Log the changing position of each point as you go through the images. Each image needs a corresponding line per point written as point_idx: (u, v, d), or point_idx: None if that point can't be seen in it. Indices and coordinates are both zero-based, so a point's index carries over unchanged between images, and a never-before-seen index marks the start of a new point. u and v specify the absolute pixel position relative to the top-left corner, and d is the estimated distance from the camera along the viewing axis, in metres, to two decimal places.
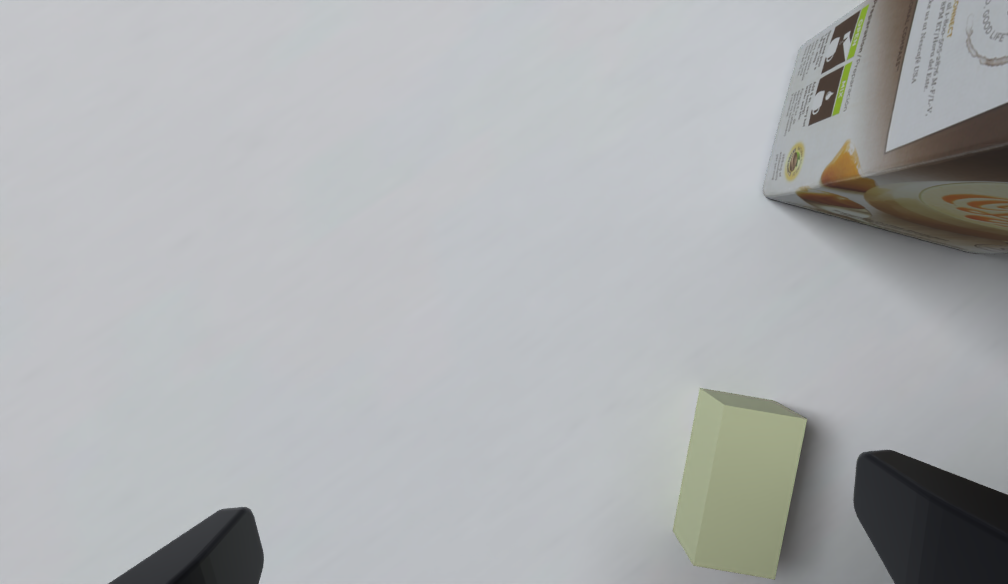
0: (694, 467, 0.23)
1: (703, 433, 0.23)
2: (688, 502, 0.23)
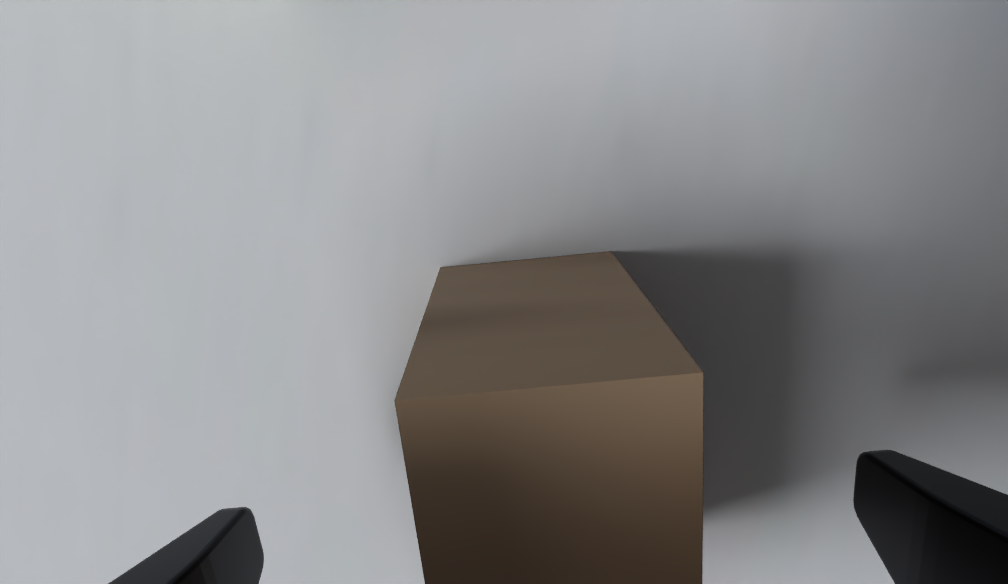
0: None
1: None
2: None
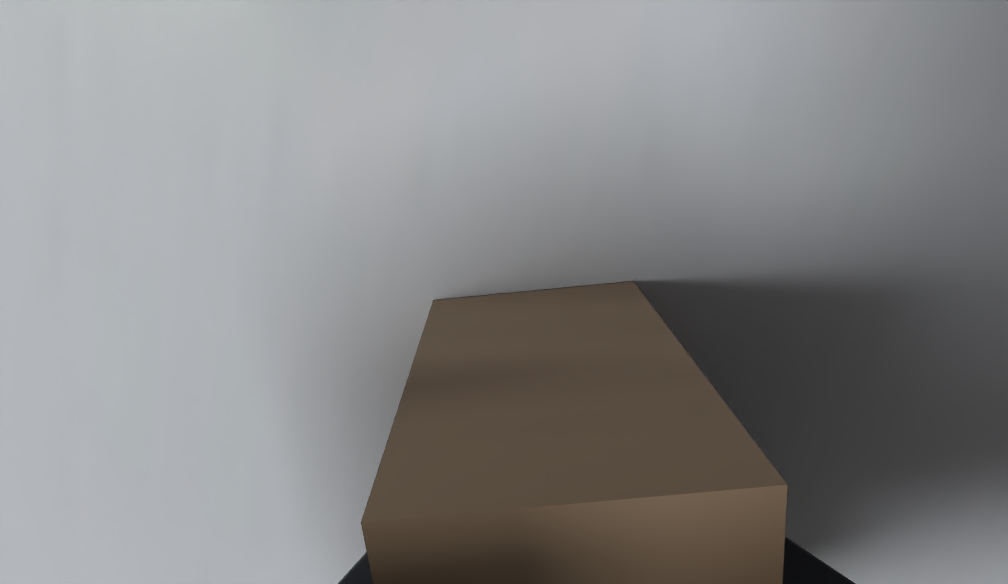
0: None
1: None
2: None
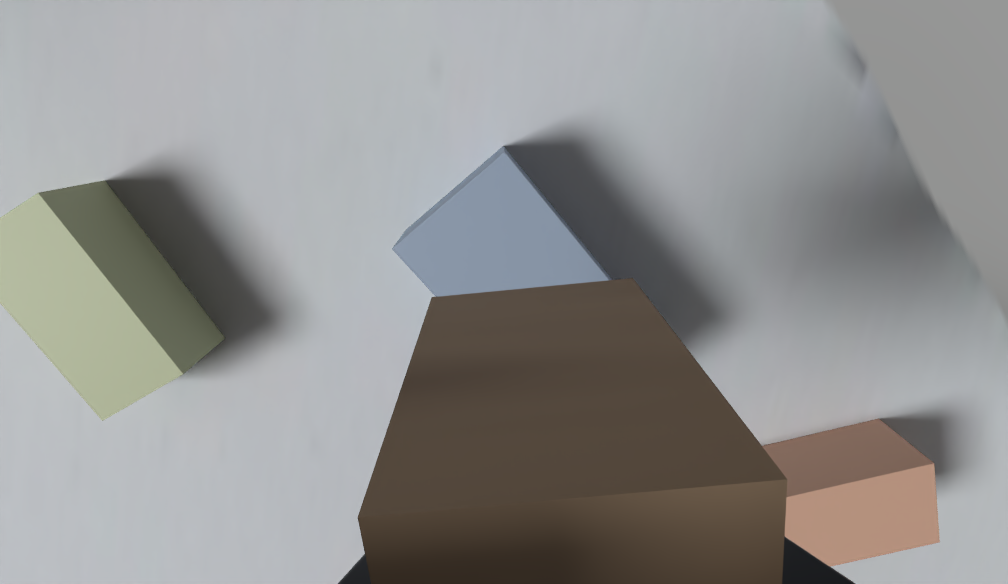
0: None
1: None
2: None
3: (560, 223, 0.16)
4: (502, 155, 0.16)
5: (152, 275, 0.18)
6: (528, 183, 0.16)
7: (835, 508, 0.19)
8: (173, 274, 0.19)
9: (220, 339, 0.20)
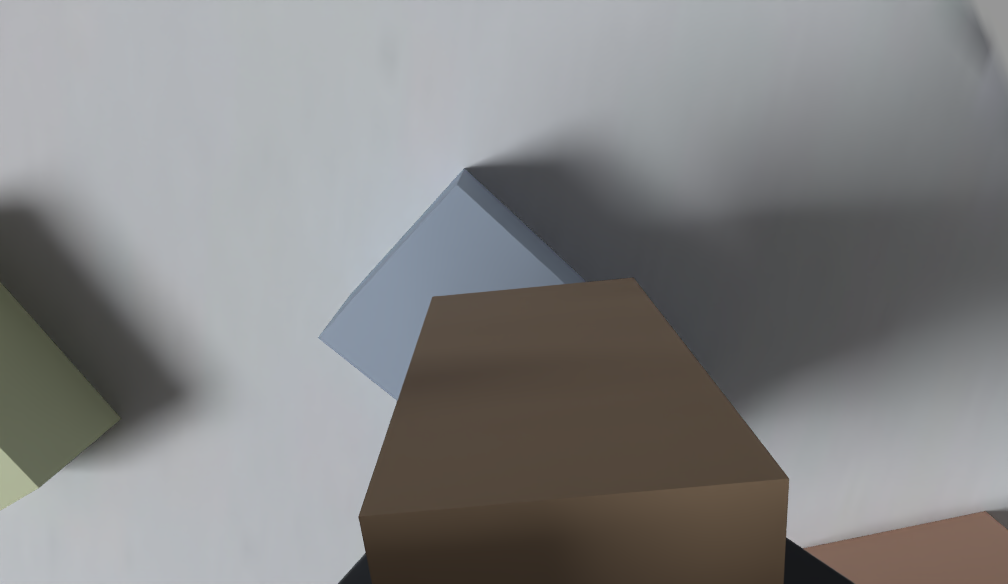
0: None
1: None
2: None
3: (551, 274, 0.11)
4: (454, 189, 0.11)
5: (5, 344, 0.13)
6: (497, 224, 0.11)
7: None
8: (42, 338, 0.14)
9: (112, 422, 0.15)
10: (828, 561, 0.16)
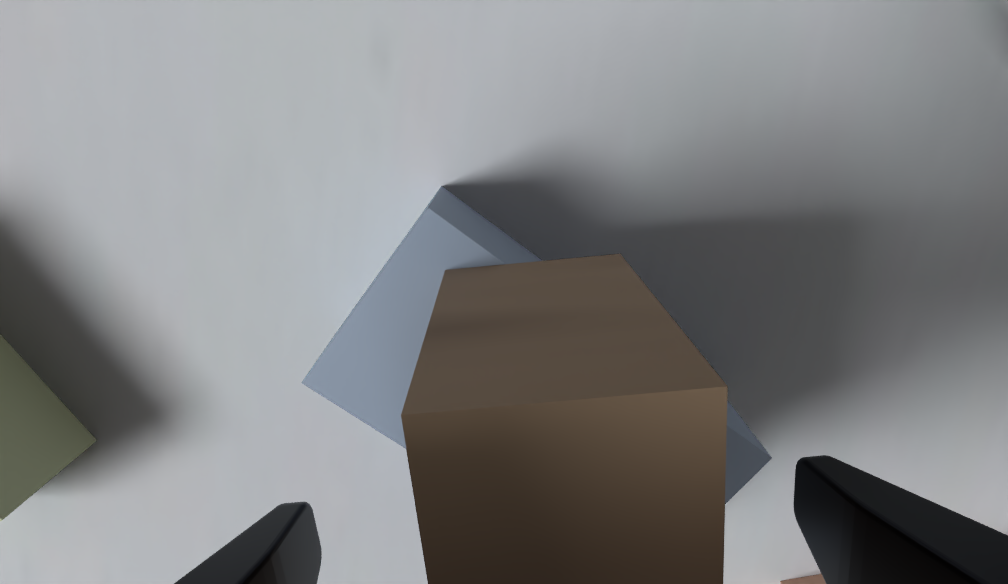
0: None
1: None
2: None
3: None
4: (426, 213, 0.10)
5: None
6: (476, 245, 0.10)
7: None
8: (11, 356, 0.13)
9: (86, 444, 0.14)
10: None
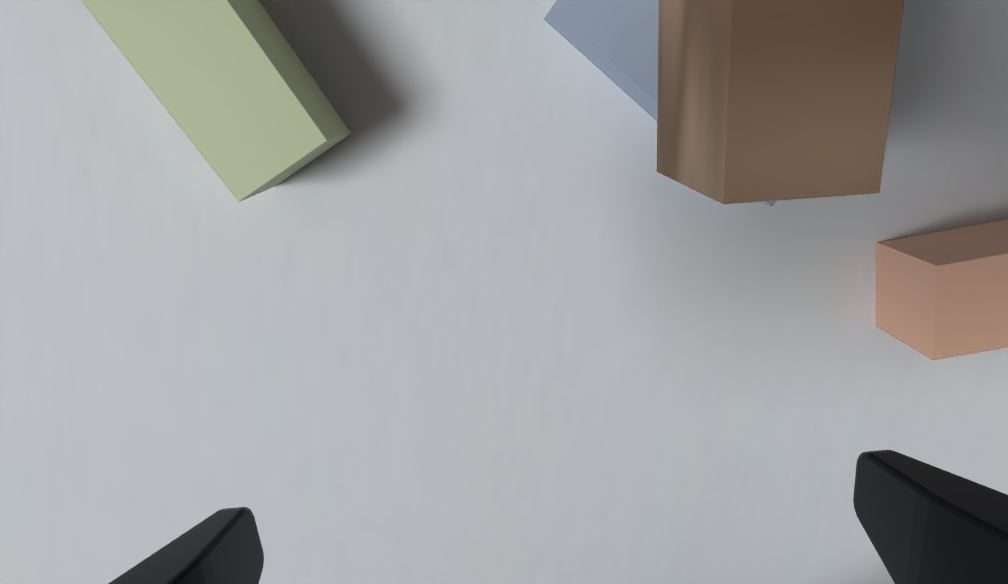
0: None
1: None
2: None
3: None
4: None
5: (280, 46, 0.17)
6: None
7: None
8: (296, 56, 0.18)
9: (348, 132, 0.18)
10: (935, 238, 0.19)
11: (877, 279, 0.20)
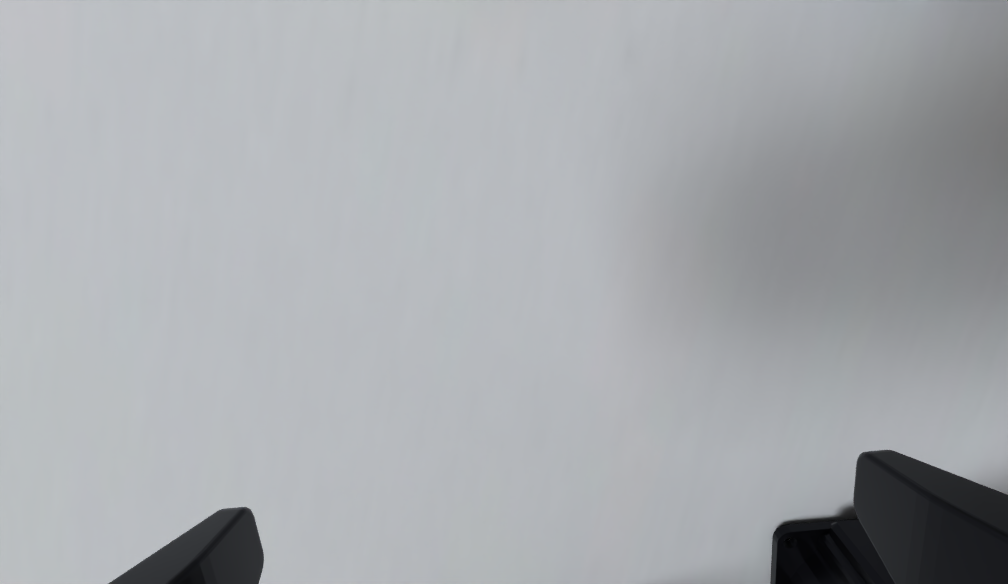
0: None
1: None
2: None
3: None
4: None
5: None
6: None
7: None
8: None
9: None
10: None
11: None
